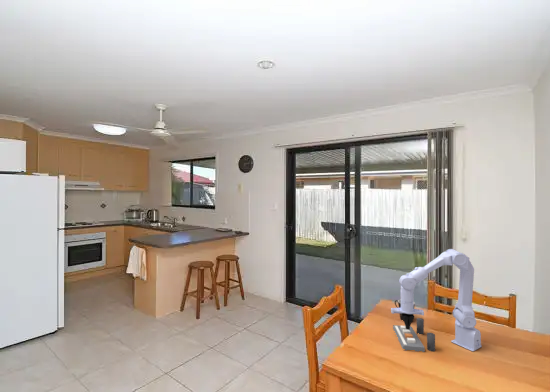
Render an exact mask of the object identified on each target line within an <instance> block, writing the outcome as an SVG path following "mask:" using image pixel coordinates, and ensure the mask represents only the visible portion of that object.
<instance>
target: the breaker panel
mask: <svg viewBox="0 0 550 392" xmlns="http://www.w3.org/2000/svg"><path fill="white" fill-rule="evenodd" d="M393 329H394V330H393ZM392 330H393V331H395V332H394V333H396V334H395V336H396V335H397V336H396V338H397V337H398V338H397V339H398V342H399V344H400V346H401V348H402V350H403V349H405V350H404V351H407V350H415V351H414V352H419V351H422V352H423V353H425V351H426V350H425V349H426V348H425V346H424V344H423V343H422V341H421V339H420V338H419V337H418V334H417V332H415V330H414V328H413V327H412V326H411V325H410V330H408V329H406V328H405V325H399V324H398V325H395V324H393V325H392Z"/></svg>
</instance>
